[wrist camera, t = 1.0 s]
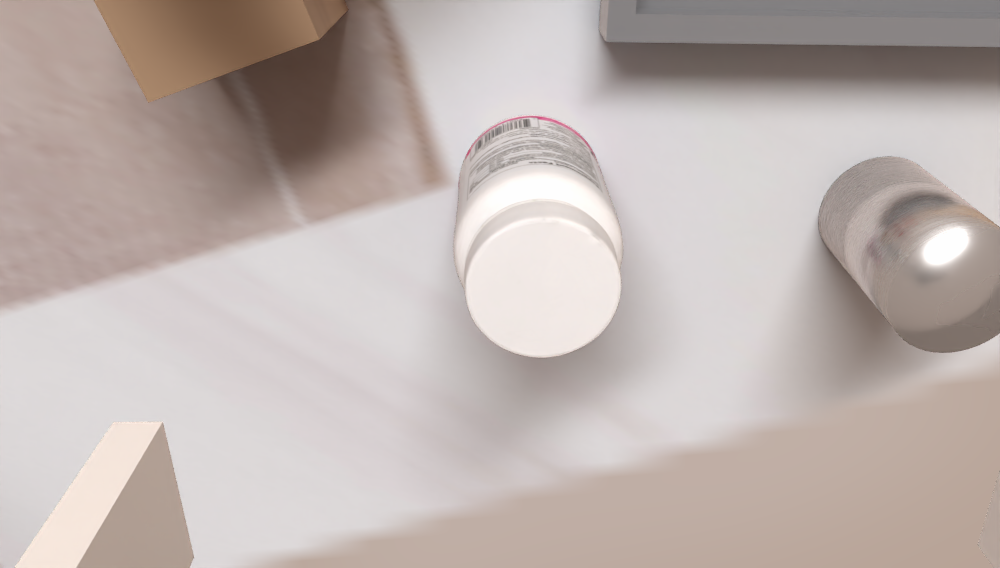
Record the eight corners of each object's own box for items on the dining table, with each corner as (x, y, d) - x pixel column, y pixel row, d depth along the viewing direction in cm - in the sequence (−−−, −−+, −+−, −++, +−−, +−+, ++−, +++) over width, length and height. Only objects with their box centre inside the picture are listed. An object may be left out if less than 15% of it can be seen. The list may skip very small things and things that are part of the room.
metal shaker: (809, 264, 31) (874, 352, 25) (829, 155, 29) (904, 226, 24) (921, 264, 31) (1010, 353, 25) (949, 156, 29) (1051, 227, 24)
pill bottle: (576, 258, 31) (602, 390, 23) (445, 226, 30) (428, 350, 23) (619, 131, 29) (663, 230, 21) (479, 94, 28) (473, 182, 21)
